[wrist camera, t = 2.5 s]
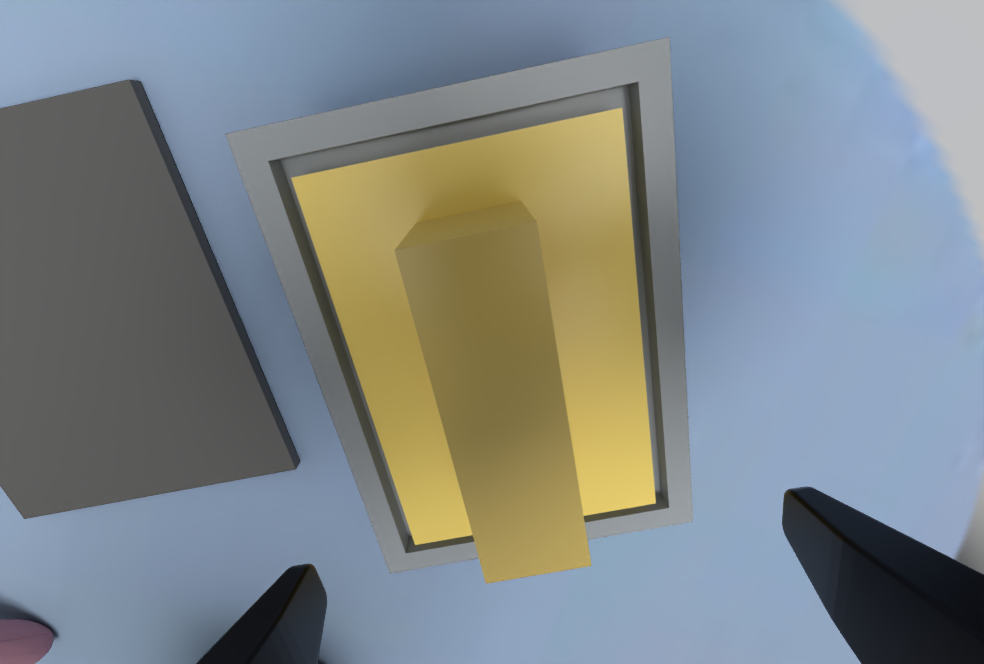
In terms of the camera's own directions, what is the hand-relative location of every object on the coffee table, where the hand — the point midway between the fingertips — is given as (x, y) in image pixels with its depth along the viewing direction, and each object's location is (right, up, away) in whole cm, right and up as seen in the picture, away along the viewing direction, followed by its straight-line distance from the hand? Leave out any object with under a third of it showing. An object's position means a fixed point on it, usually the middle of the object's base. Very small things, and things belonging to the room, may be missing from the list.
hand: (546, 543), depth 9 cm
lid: (-1, +3, +6) cm, 7 cm away
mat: (-19, +4, +12) cm, 23 cm away
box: (-1, +6, +12) cm, 13 cm away
